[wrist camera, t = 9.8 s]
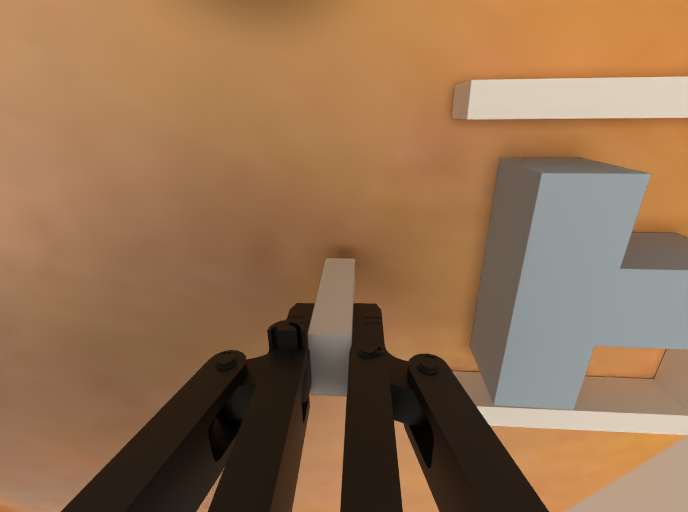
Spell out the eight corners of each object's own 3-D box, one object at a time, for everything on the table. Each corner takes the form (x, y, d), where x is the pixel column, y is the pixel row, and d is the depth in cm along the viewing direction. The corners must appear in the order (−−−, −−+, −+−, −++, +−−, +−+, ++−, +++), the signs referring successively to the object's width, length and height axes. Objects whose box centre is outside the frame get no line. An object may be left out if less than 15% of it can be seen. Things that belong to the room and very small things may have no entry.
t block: (469, 345, 23) (493, 405, 18) (499, 157, 18) (541, 173, 14) (630, 352, 22) (698, 416, 17) (705, 157, 17) (824, 174, 13)
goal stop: (424, 387, 24) (430, 422, 21) (454, 84, 17) (471, 79, 14) (669, 397, 23) (710, 435, 20) (817, 79, 16) (911, 72, 13)
